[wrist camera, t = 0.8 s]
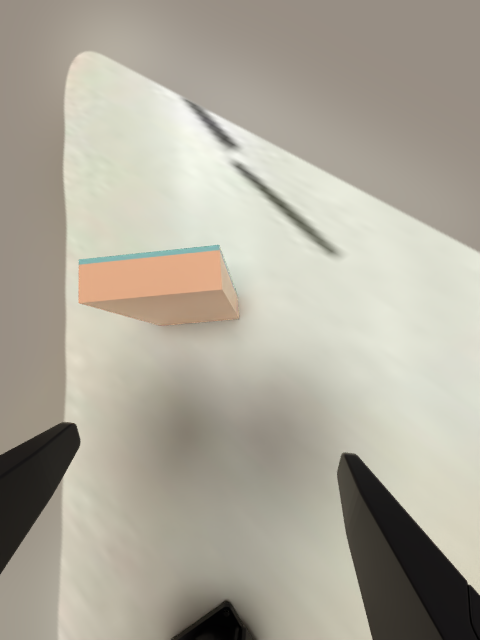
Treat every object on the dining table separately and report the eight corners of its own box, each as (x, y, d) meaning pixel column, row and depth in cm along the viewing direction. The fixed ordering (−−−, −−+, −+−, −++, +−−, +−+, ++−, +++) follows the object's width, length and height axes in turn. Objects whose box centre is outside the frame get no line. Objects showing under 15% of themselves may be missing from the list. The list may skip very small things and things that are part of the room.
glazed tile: (239, 318, 26) (222, 289, 14) (160, 325, 26) (78, 303, 14) (237, 294, 26) (219, 244, 14) (159, 301, 26) (78, 259, 15)
